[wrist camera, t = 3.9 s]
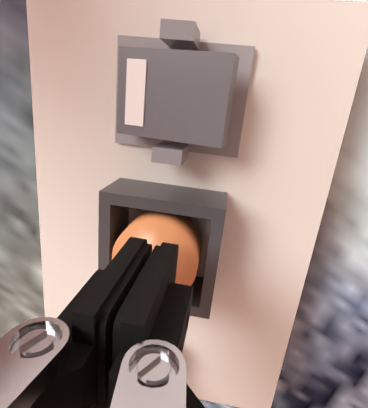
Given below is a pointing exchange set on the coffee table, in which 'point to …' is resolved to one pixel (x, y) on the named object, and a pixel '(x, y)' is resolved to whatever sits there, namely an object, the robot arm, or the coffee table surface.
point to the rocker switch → (176, 94)
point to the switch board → (198, 163)
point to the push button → (167, 239)
